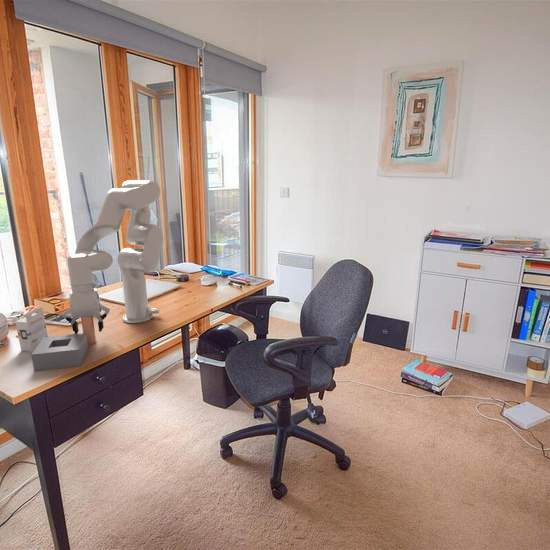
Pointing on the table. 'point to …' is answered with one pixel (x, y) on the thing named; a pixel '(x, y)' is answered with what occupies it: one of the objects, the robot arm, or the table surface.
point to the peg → (89, 329)
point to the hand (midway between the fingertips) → (88, 331)
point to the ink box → (31, 330)
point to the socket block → (60, 351)
